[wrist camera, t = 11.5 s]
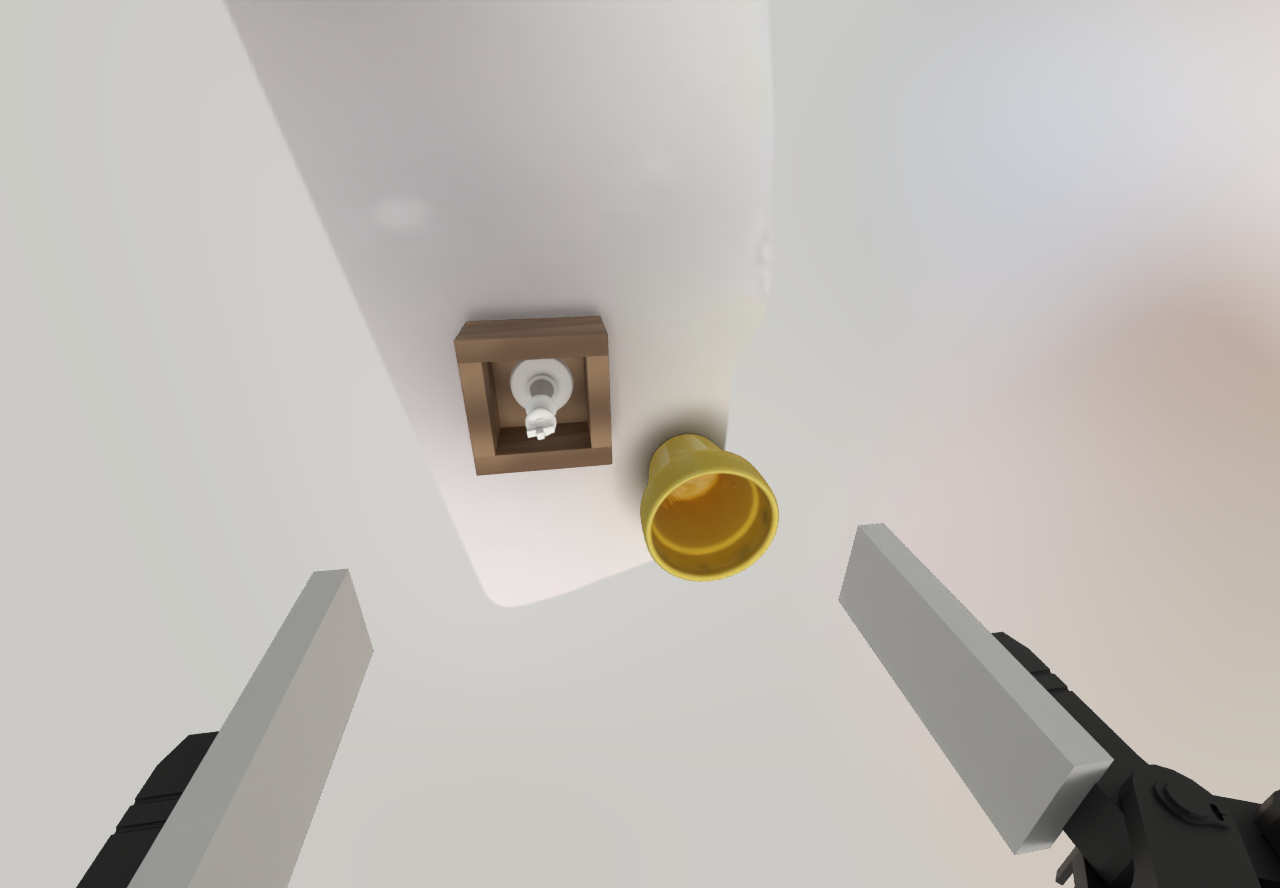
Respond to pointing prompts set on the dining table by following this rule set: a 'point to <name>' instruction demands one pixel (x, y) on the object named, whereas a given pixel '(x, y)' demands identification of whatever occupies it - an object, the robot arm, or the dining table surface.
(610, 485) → the dining table surface
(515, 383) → the chess piece
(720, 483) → the plant pot
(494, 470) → the walnut holder
